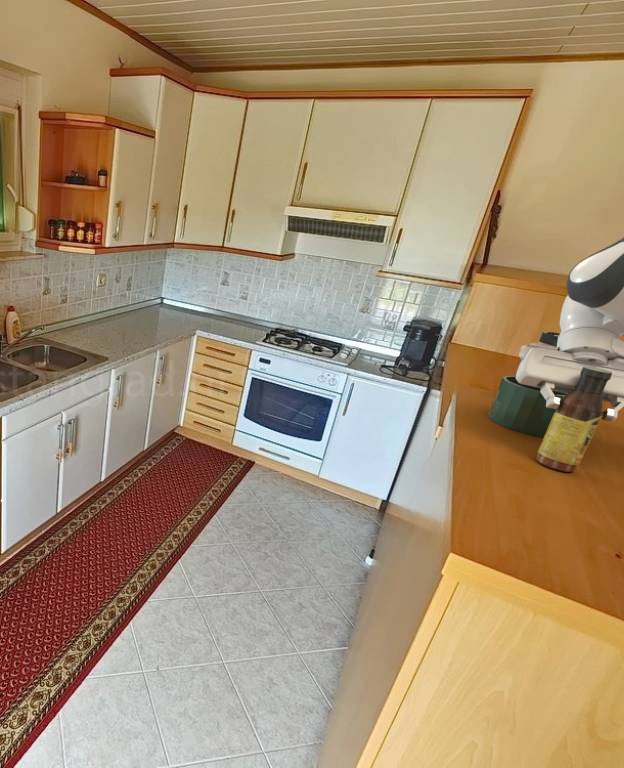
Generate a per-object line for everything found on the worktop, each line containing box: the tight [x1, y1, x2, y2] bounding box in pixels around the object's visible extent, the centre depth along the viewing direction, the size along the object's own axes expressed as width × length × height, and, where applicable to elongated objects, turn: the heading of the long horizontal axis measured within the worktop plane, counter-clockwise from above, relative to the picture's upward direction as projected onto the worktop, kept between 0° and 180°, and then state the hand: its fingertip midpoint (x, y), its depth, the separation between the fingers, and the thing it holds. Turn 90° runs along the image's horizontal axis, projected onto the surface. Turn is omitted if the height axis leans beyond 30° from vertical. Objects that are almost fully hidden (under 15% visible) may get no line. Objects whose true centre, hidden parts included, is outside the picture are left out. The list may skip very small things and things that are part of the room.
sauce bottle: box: [536, 366, 612, 473], centre depth 92 cm, size 7×6×20 cm
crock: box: [487, 375, 567, 438], centre depth 114 cm, size 13×13×10 cm
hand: (580, 413), depth 91 cm, fingers open, 7 cm apart
